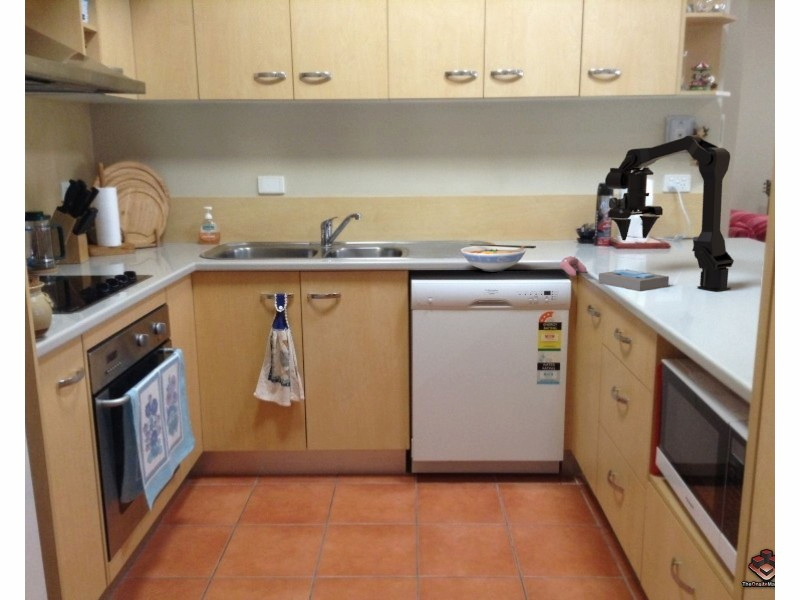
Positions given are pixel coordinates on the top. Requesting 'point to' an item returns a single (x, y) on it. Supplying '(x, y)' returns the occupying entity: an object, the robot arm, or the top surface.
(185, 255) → the top surface
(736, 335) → the top surface
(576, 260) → the video game controller
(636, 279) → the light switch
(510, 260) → the ramen bowl
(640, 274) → the light blue bar
